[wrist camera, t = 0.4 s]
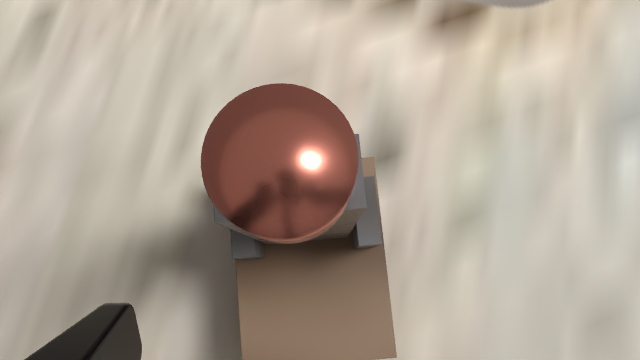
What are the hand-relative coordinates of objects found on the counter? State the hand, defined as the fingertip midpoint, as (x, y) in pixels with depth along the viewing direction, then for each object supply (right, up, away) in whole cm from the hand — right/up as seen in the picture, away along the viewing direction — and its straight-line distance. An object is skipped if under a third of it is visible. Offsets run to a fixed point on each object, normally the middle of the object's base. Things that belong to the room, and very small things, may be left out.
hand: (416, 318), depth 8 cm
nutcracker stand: (-2, -2, +15) cm, 15 cm away
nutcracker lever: (-2, +1, +12) cm, 12 cm away
